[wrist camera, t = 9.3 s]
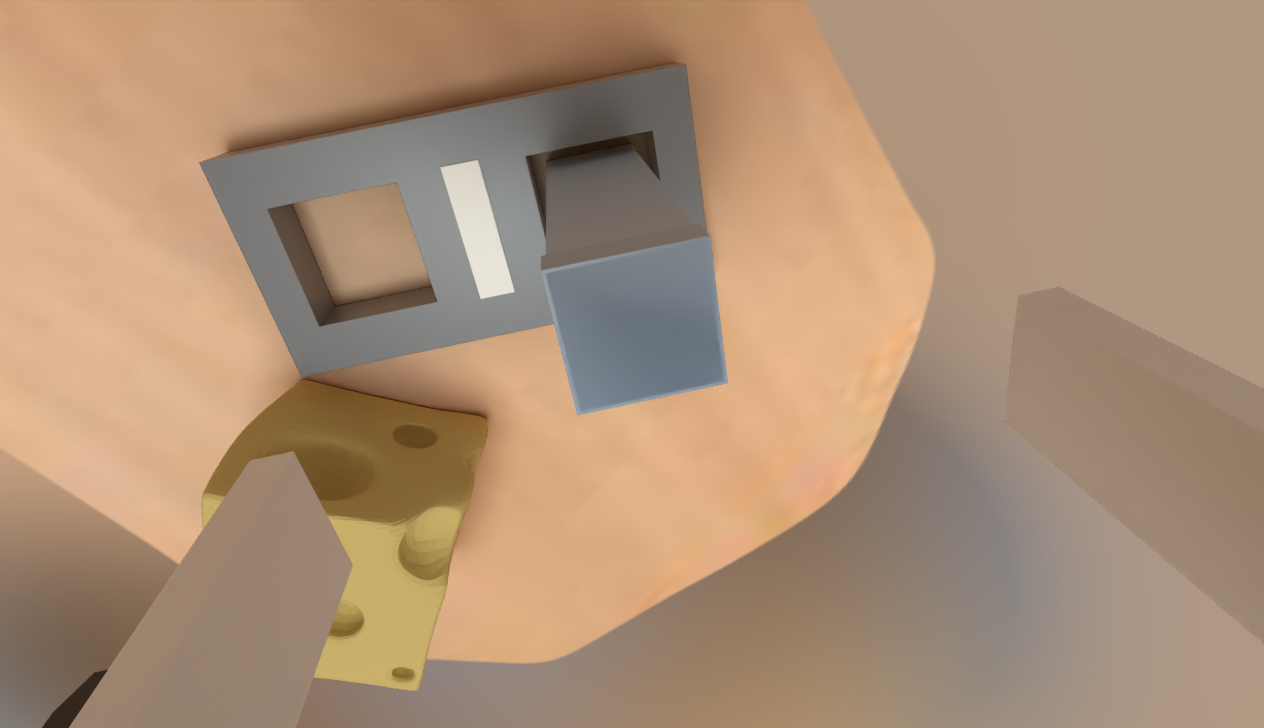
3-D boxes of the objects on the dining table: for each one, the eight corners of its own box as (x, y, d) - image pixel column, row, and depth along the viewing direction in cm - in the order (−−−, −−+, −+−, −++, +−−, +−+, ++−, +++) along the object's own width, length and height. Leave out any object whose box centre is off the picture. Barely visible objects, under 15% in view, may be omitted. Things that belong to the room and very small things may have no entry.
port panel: (226, 152, 28) (197, 163, 26) (675, 62, 29) (686, 64, 26) (317, 353, 33) (300, 377, 30) (702, 273, 33) (714, 291, 31)
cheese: (490, 412, 36) (471, 537, 27) (448, 557, 40) (420, 707, 31) (289, 367, 33) (193, 487, 24) (267, 527, 37) (179, 680, 28)
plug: (543, 159, 30) (540, 271, 16) (632, 141, 30) (710, 235, 16) (563, 246, 32) (577, 415, 18) (647, 229, 32) (727, 383, 18)
